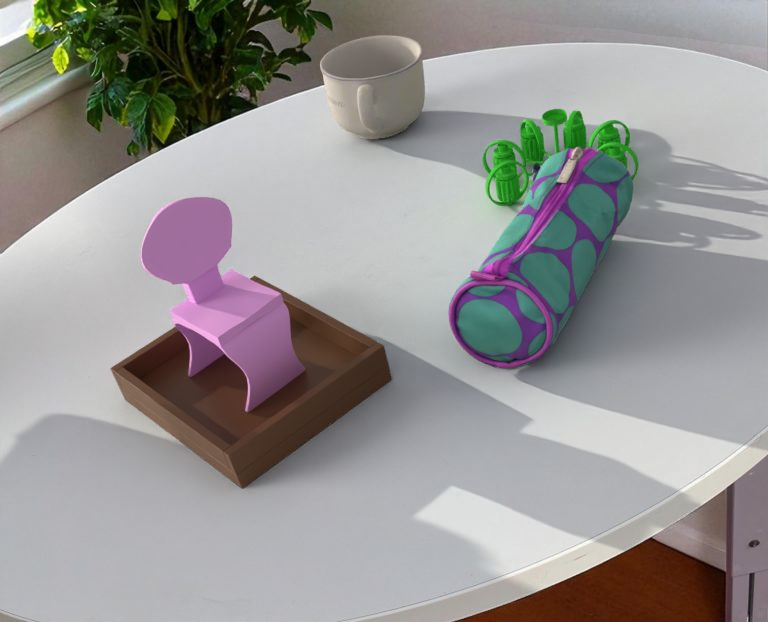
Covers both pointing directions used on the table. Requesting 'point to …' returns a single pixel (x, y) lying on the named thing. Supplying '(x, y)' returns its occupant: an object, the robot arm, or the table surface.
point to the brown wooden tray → (230, 390)
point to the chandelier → (535, 150)
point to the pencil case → (542, 259)
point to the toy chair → (220, 297)
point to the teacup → (375, 85)
